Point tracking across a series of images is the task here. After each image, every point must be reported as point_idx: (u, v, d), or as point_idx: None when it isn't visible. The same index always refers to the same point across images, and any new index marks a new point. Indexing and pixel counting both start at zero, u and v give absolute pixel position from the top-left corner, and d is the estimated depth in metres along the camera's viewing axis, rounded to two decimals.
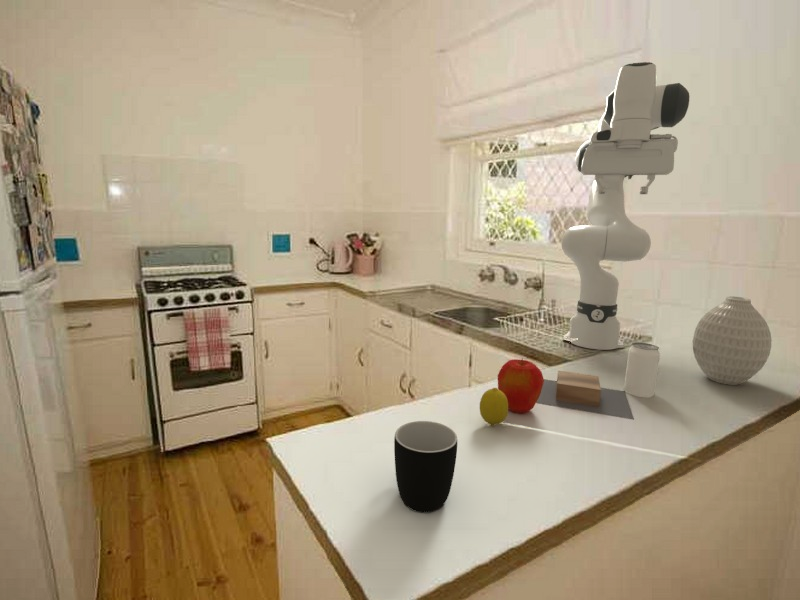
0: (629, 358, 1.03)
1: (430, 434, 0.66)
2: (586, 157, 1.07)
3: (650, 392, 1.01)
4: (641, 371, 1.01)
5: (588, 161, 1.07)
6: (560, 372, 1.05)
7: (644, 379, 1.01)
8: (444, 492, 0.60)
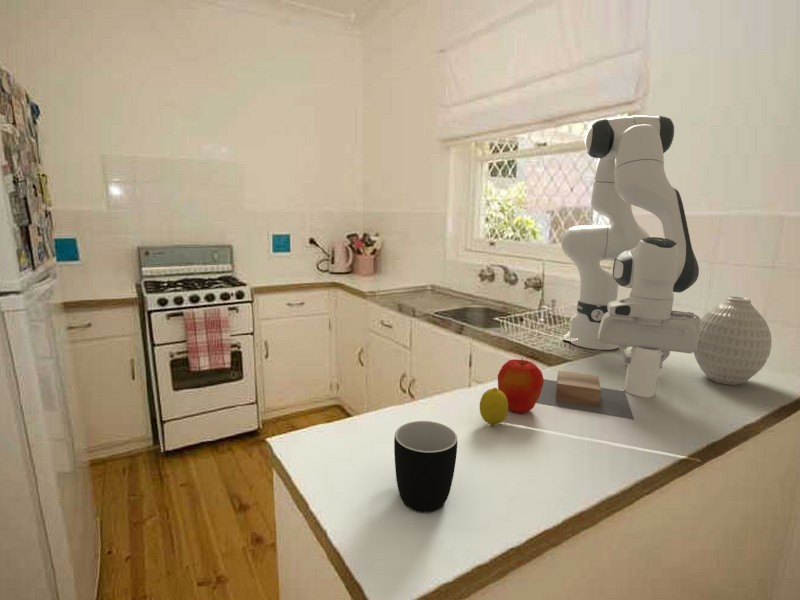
0: (631, 357, 1.03)
1: (430, 434, 0.66)
2: (604, 327, 1.03)
3: (650, 392, 1.01)
4: (643, 371, 1.01)
5: (606, 331, 1.03)
6: (560, 372, 1.05)
7: (645, 379, 1.01)
8: (444, 492, 0.60)
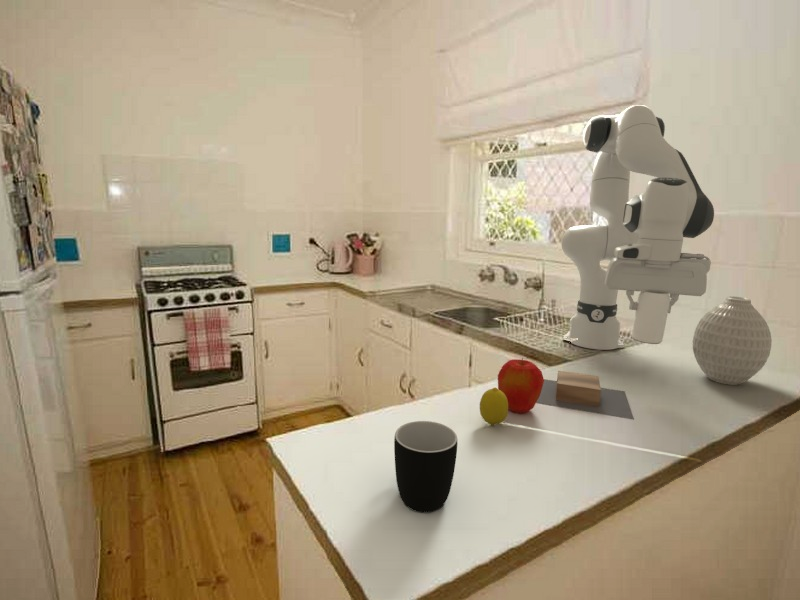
0: (638, 303, 1.01)
1: (430, 434, 0.66)
2: (611, 272, 1.00)
3: (658, 337, 0.99)
4: (651, 316, 0.98)
5: (613, 276, 1.01)
6: (560, 372, 1.05)
7: (653, 324, 0.98)
8: (444, 492, 0.60)
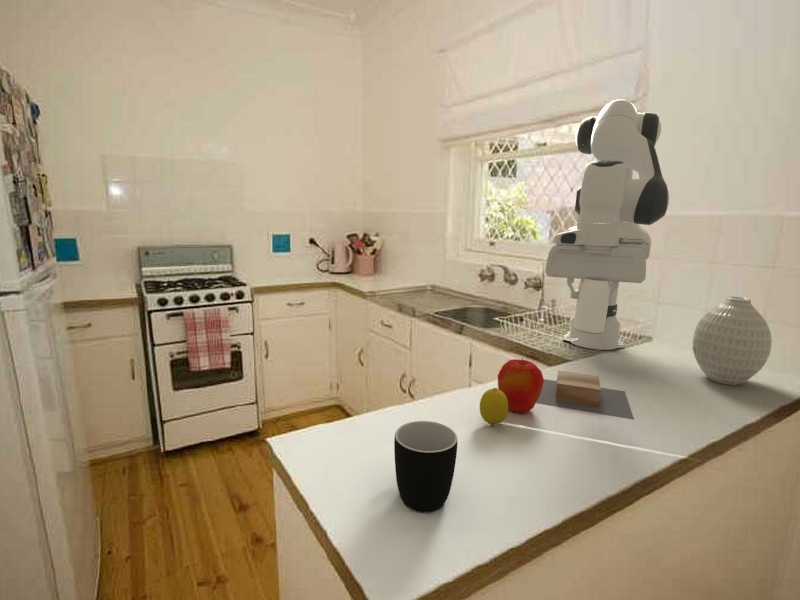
0: (579, 291, 0.96)
1: (430, 434, 0.66)
2: (550, 259, 0.96)
3: (599, 326, 0.95)
4: (590, 304, 0.94)
5: (552, 263, 0.96)
6: (560, 372, 1.05)
7: (593, 313, 0.94)
8: (444, 492, 0.60)
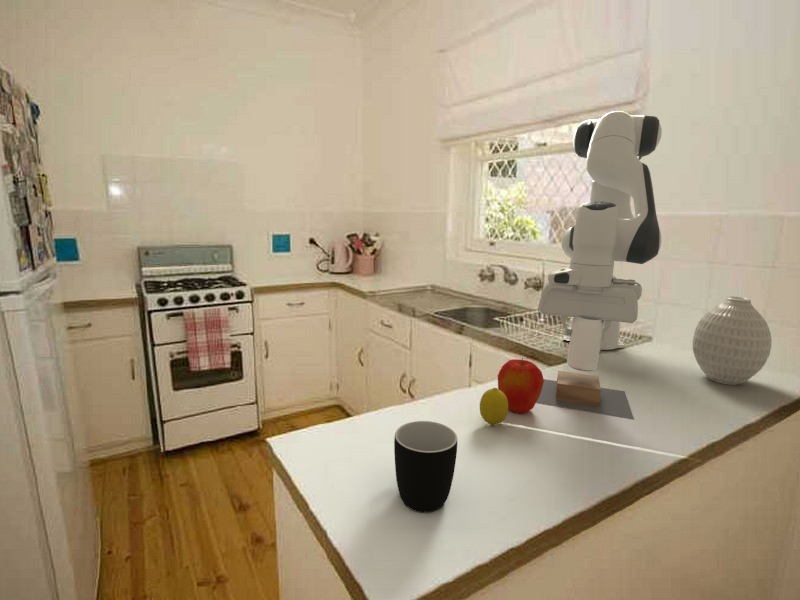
0: (572, 329, 0.98)
1: (430, 434, 0.66)
2: (544, 297, 0.98)
3: (591, 364, 0.96)
4: (583, 342, 0.96)
5: (546, 301, 0.98)
6: (560, 372, 1.05)
7: (586, 351, 0.96)
8: (444, 492, 0.60)
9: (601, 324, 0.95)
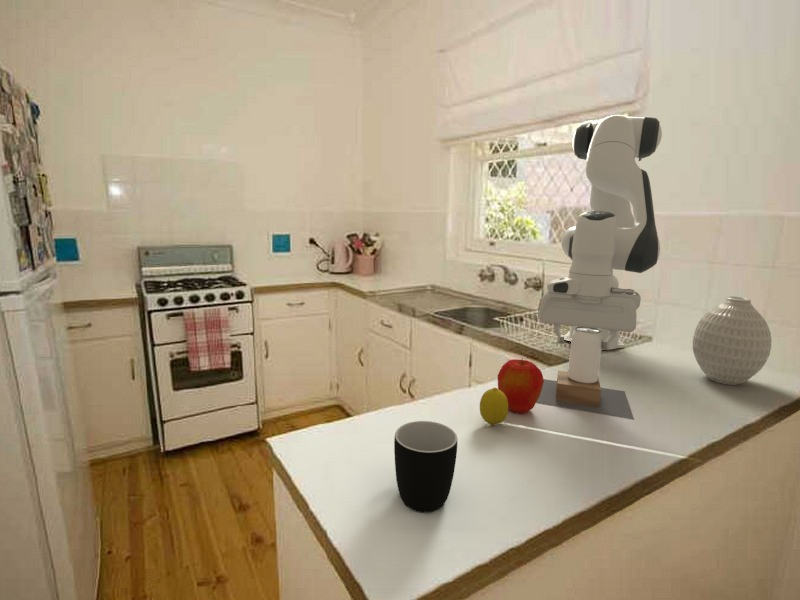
0: (572, 342, 0.99)
1: (430, 434, 0.66)
2: (543, 306, 0.98)
3: (592, 377, 0.97)
4: (583, 356, 0.97)
5: (545, 310, 0.99)
6: (560, 372, 1.05)
7: (586, 364, 0.97)
8: (444, 492, 0.60)
9: (600, 337, 0.96)
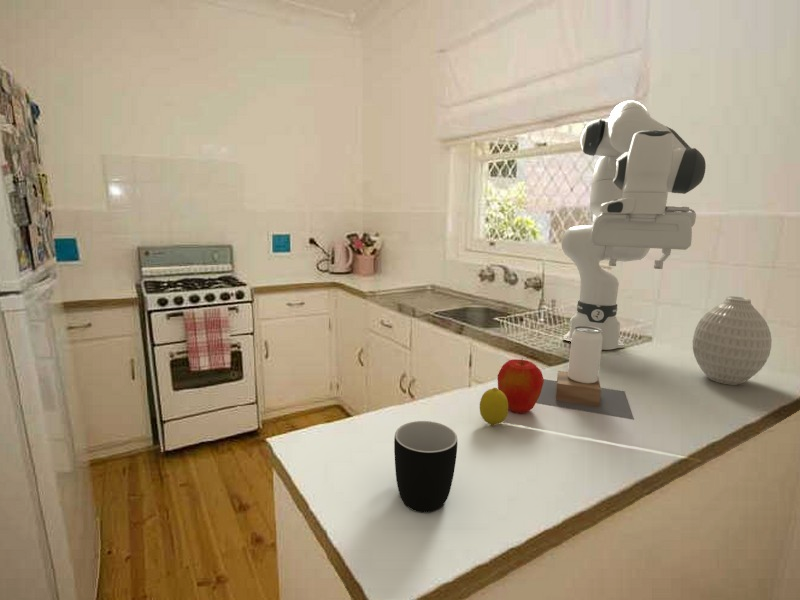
0: (572, 342, 0.99)
1: (430, 434, 0.66)
2: (596, 228, 1.00)
3: (592, 377, 0.97)
4: (583, 356, 0.97)
5: (598, 232, 1.00)
6: (560, 372, 1.05)
7: (586, 364, 0.97)
8: (444, 492, 0.60)
9: (600, 337, 0.97)
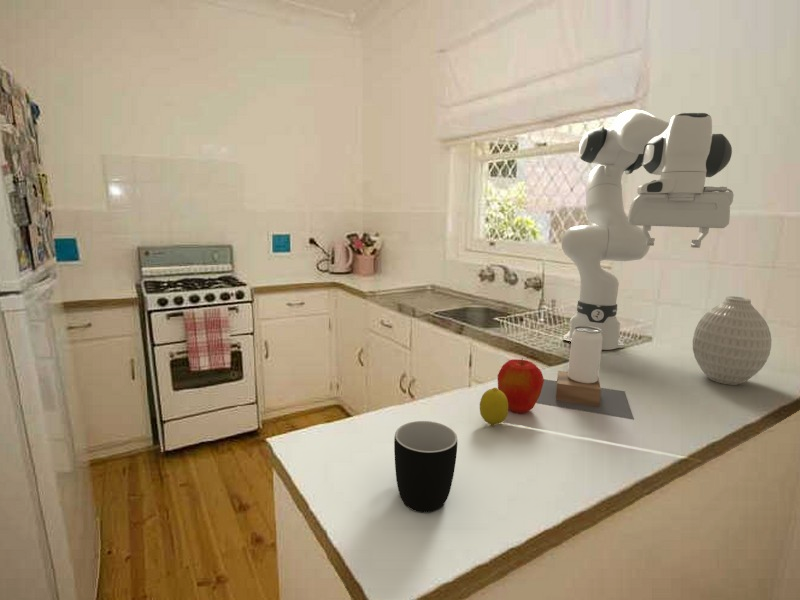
0: (572, 342, 0.99)
1: (430, 434, 0.66)
2: (635, 208, 1.02)
3: (592, 377, 0.97)
4: (583, 356, 0.97)
5: (637, 212, 1.03)
6: (560, 372, 1.05)
7: (586, 364, 0.97)
8: (444, 492, 0.60)
9: (600, 337, 0.97)
